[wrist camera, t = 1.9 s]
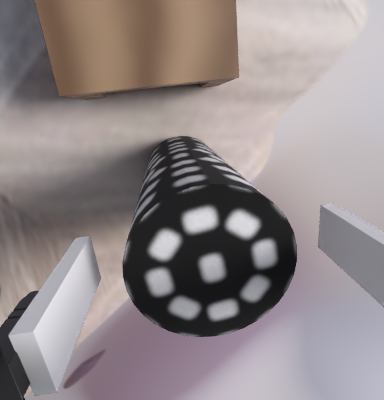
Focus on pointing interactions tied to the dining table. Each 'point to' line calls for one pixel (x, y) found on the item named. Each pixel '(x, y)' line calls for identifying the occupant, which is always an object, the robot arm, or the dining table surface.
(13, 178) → the dining table surface
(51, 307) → the robot arm
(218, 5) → the wooden bridge block
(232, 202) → the spotted tube
